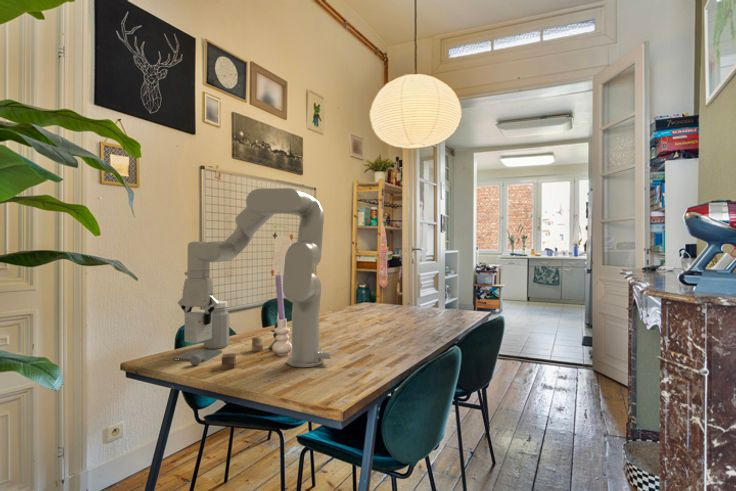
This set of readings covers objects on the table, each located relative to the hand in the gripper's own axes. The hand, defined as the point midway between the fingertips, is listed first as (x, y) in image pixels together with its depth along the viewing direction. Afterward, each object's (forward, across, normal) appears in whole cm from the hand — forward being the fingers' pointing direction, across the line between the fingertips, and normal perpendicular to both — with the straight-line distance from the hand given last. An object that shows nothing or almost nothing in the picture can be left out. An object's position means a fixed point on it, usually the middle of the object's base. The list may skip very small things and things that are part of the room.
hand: (198, 323), depth 150 cm
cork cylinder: (+12, +18, +11) cm, 24 cm away
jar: (+12, 0, +14) cm, 19 cm away
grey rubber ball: (+12, +5, -10) cm, 16 cm away
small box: (+6, 0, 0) cm, 6 cm away
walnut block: (+12, +17, -10) cm, 23 cm away
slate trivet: (+12, 0, 0) cm, 12 cm away
